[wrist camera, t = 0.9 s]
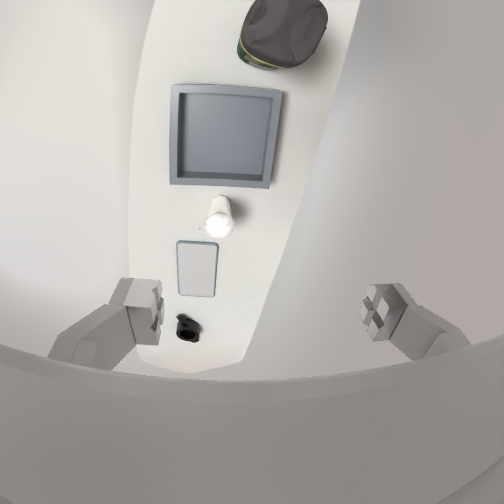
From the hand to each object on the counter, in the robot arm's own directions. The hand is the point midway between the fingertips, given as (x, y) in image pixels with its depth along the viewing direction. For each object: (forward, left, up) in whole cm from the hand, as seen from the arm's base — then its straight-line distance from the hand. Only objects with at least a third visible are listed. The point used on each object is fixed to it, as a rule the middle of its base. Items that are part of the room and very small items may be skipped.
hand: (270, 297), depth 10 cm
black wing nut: (+50, -9, -39) cm, 64 cm away
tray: (+2, -2, -38) cm, 38 cm away
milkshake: (+15, -2, -38) cm, 41 cm away
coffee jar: (-14, +3, -38) cm, 41 cm away
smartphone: (+31, -6, -39) cm, 50 cm away
